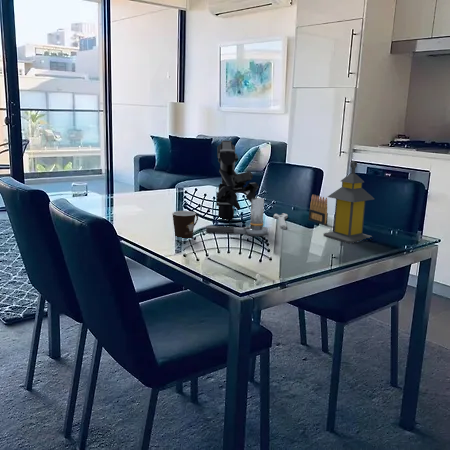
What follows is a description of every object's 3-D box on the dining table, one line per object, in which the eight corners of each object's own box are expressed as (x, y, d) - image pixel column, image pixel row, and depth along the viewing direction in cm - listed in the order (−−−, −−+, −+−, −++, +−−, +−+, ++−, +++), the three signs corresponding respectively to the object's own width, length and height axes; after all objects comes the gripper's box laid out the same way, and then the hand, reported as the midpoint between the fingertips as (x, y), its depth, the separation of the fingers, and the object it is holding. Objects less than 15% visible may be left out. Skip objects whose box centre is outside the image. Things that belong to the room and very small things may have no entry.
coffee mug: (177, 243, 181) (177, 216, 179) (169, 237, 188) (168, 211, 186) (206, 239, 186) (206, 214, 184) (196, 234, 194) (197, 209, 191)
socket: (249, 229, 195) (250, 200, 192) (250, 226, 200) (251, 197, 197) (263, 230, 194) (264, 200, 191) (262, 227, 199) (264, 198, 196)
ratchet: (205, 234, 194) (205, 228, 194) (207, 228, 203) (207, 223, 202) (267, 236, 193) (268, 231, 192) (267, 231, 201) (267, 225, 201)
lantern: (322, 235, 196) (327, 160, 189) (344, 231, 205) (351, 158, 198) (350, 244, 186) (357, 164, 178) (373, 238, 194) (380, 162, 187)
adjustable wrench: (286, 230, 206) (287, 226, 205) (271, 229, 206) (271, 225, 206) (287, 217, 230) (287, 213, 229) (273, 216, 230) (273, 212, 230)
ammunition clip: (327, 224, 215) (329, 197, 212) (324, 225, 214) (326, 198, 211) (311, 219, 224) (313, 193, 221) (308, 220, 223) (309, 193, 220)
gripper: (222, 166, 193) (241, 198, 188) (256, 163, 205) (274, 193, 200) (209, 183, 201) (227, 214, 195) (242, 179, 213) (260, 209, 207)
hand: (248, 207), depth 199 cm, fingers open, 9 cm apart
